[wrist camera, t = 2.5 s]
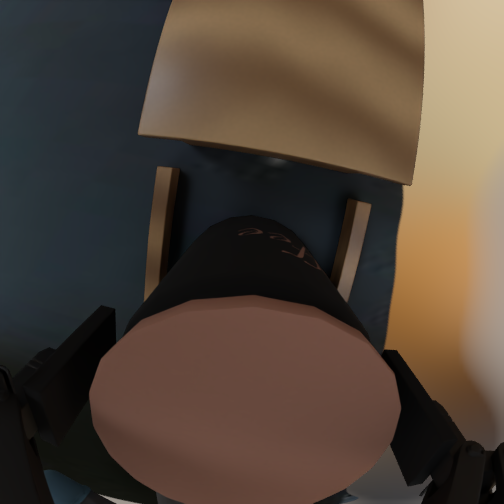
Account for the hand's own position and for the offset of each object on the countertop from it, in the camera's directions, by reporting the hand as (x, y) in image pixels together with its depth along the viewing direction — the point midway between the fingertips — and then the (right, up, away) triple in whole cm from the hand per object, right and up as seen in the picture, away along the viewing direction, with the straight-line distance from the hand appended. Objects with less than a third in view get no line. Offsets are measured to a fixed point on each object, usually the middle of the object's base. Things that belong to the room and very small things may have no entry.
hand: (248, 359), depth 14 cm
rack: (+1, +11, +10) cm, 15 cm away
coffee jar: (0, +3, +13) cm, 13 cm away
